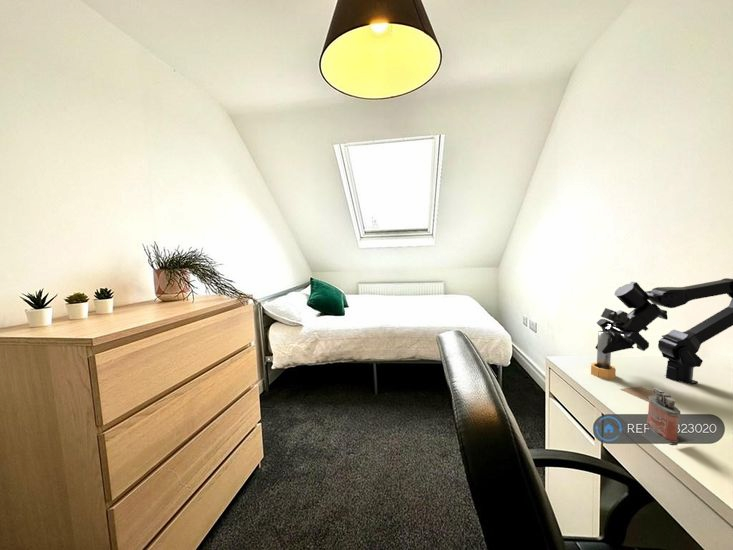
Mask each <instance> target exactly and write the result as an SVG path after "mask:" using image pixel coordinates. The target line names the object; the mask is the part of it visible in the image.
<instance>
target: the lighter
mask: <svg viewBox="0 0 733 550" xmlns="http://www.w3.org/2000/svg"><path fill="white" fill-rule="evenodd" d="M652 391H653V394H655V395H656V396H648V400H649V402H648V411H647V422H646V425H647V427H648V428H649V429H650V430H651V431H652V432H653V433H655V434H656V435H657V436H659V437H660V438H662V439H663V440H665V441H668V442H671V443H668V445H669V446H678V443H679V439H678V431H679V430H678V429H679V421H680V420H679V418H680V416H681V414H682V413H681V410H680V409H679V408H678V407H676V406H675V404H676V400H675V399H674V398H673V397H672V395H671V394H670V393H666V392H664V391H663V390H661V389H659V388H658V387H654V388H652Z"/></svg>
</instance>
